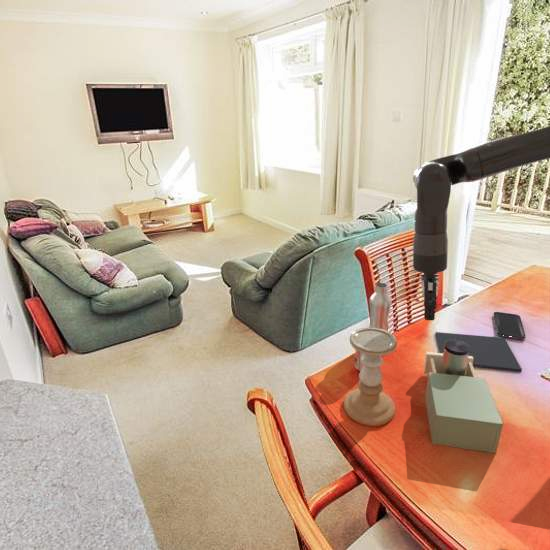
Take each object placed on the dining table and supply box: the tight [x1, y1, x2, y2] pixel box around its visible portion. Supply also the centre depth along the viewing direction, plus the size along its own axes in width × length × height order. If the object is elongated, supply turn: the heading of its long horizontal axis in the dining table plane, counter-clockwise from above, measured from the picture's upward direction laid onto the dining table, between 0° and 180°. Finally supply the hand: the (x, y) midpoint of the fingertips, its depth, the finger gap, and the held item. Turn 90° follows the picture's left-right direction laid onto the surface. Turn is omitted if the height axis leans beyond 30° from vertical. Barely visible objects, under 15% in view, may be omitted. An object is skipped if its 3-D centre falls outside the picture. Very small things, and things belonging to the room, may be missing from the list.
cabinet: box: [424, 372, 504, 454], centre depth 85 cm, size 15×13×8 cm
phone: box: [493, 311, 526, 340], centre depth 123 cm, size 8×1×15 cm
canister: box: [440, 340, 470, 376], centre depth 93 cm, size 6×6×12 cm
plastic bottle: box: [368, 282, 392, 332], centre depth 115 cm, size 6×7×20 cm
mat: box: [434, 331, 523, 373], centre depth 112 cm, size 20×16×1 cm
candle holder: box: [343, 327, 398, 427], centre depth 89 cm, size 12×12×20 cm
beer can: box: [354, 349, 364, 372], centre depth 105 cm, size 5×5×12 cm
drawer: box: [423, 351, 478, 378], centre depth 95 cm, size 15×11×6 cm
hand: (429, 312), depth 93 cm, fingers open, 8 cm apart
